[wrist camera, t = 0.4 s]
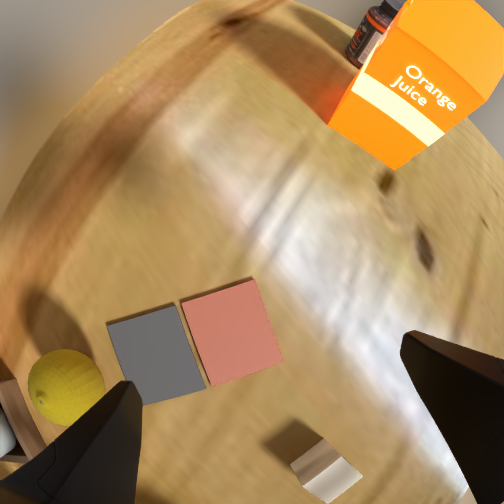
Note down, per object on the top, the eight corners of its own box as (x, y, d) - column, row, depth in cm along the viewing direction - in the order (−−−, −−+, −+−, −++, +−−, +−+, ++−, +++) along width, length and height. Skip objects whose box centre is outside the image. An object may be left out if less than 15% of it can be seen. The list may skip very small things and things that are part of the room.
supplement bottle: (343, 42, 30) (374, -13, 19) (379, 57, 31) (415, 8, 20) (344, 65, 29) (382, 4, 18) (384, 82, 30) (427, 29, 19)
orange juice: (347, 87, 28) (430, -36, 9) (406, 128, 29) (510, 32, 9) (326, 126, 26) (431, -27, 7) (394, 172, 27) (532, 67, 7)
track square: (206, 387, 20) (206, 388, 20) (138, 405, 19) (137, 406, 19) (175, 305, 21) (175, 305, 21) (108, 325, 20) (106, 326, 20)
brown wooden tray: (49, 451, 16) (36, 463, 14) (4, 450, 15) (-9, 459, 12) (15, 378, 17) (-2, 384, 14) (-25, 385, 16) (-40, 389, 13)
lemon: (51, 365, 19) (-2, 383, 11) (88, 330, 20) (37, 340, 12) (90, 415, 18) (49, 453, 11) (130, 383, 20) (96, 419, 12)
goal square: (282, 360, 22) (283, 361, 21) (212, 385, 21) (212, 386, 20) (254, 279, 23) (254, 279, 22) (181, 303, 21) (181, 303, 21)
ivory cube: (344, 457, 21) (363, 476, 17) (312, 482, 20) (327, 503, 16) (323, 437, 21) (341, 456, 17) (289, 464, 20) (302, 486, 16)
